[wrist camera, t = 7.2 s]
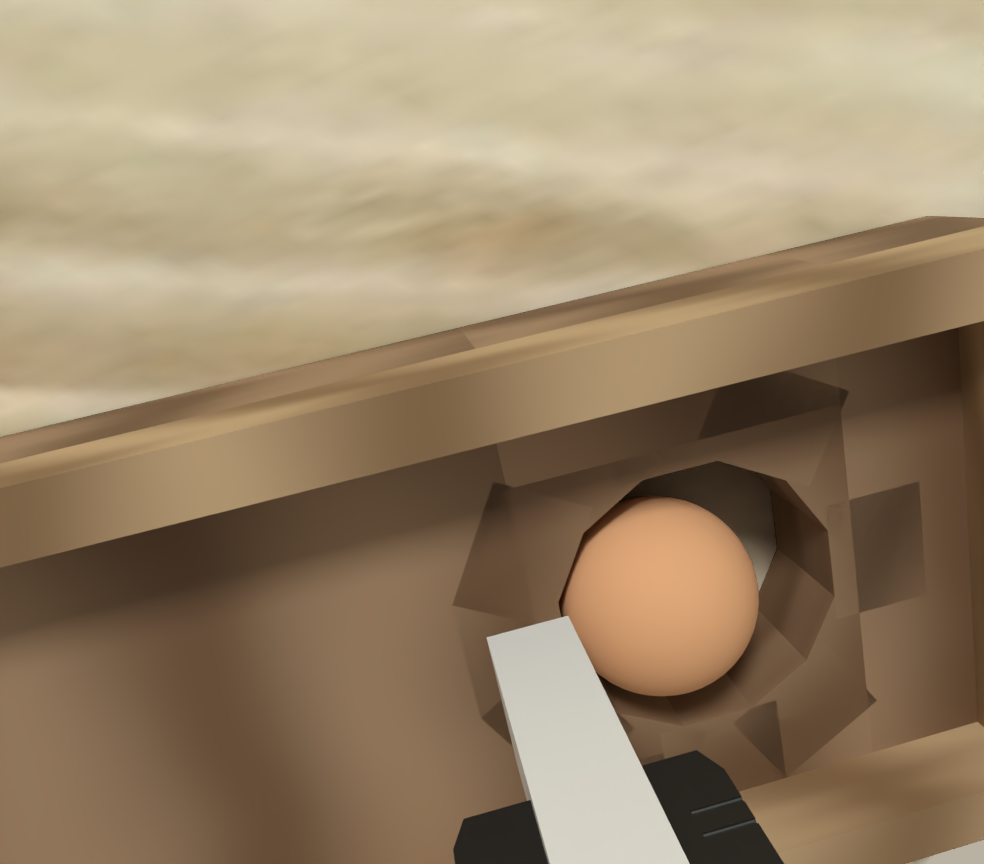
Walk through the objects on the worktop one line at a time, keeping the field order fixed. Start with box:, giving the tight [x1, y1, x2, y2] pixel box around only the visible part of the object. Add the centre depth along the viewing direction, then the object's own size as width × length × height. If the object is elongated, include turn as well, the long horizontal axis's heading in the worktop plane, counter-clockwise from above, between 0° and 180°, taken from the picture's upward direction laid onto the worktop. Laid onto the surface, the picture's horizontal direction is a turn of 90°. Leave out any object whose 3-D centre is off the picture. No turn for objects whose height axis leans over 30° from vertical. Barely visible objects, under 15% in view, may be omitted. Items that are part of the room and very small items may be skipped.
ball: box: [559, 496, 759, 696], centre depth 17 cm, size 4×4×4 cm
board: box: [0, 216, 984, 864], centre depth 17 cm, size 24×12×4 cm, turn 102°
